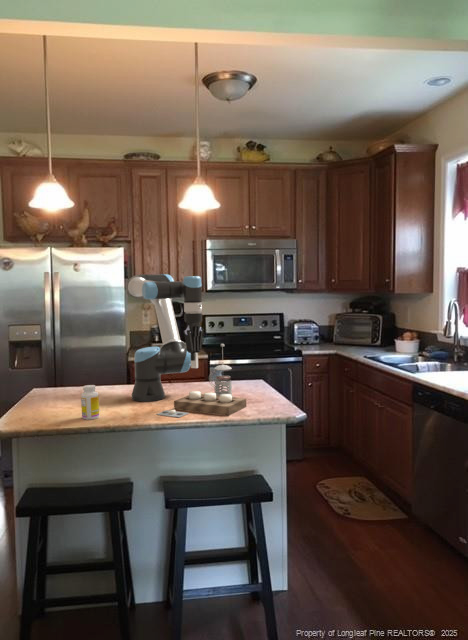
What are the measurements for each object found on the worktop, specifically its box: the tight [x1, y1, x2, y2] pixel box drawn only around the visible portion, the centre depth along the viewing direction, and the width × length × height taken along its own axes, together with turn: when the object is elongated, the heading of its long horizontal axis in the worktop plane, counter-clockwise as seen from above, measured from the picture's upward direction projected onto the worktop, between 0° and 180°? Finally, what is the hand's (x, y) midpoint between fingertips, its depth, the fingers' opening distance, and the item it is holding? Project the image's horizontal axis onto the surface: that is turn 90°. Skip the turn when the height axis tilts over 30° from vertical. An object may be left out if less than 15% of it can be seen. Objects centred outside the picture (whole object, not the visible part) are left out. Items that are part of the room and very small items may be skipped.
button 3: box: [220, 394, 233, 404], centre depth 213 cm, size 5×5×3 cm
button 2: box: [203, 392, 216, 402], centre depth 216 cm, size 5×5×3 cm
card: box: [156, 409, 190, 418], centre depth 207 cm, size 11×7×2 cm, turn 63°
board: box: [173, 393, 247, 417], centre depth 216 cm, size 26×16×4 cm, turn 63°
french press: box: [208, 343, 234, 397], centre depth 235 cm, size 10×12×25 cm
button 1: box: [188, 390, 202, 400], centre depth 220 cm, size 5×5×3 cm
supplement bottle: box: [80, 384, 100, 421], centre depth 203 cm, size 7×7×13 cm
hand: (194, 367), depth 219 cm, fingers closed
